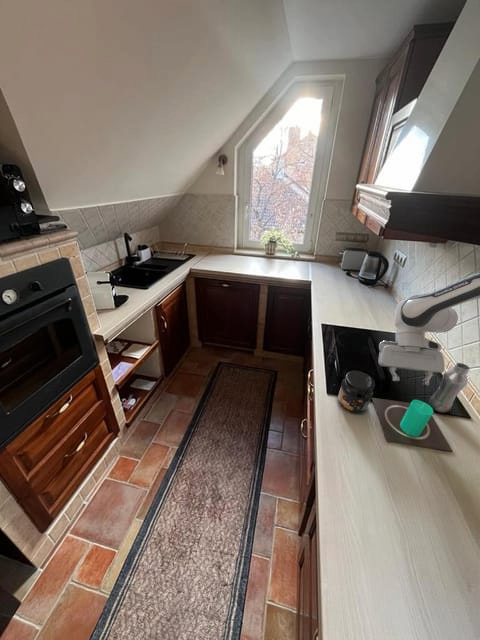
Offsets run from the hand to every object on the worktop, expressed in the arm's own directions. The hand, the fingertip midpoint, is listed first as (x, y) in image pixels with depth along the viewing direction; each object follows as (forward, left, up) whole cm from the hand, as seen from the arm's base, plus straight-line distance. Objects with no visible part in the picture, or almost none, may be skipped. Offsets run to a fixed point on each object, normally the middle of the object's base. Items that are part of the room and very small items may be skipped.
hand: (410, 383), depth 87 cm
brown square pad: (0, +7, -12) cm, 14 cm away
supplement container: (+17, +2, -12) cm, 21 cm away
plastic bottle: (-14, -2, -12) cm, 19 cm away
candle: (0, +10, -11) cm, 15 cm away
